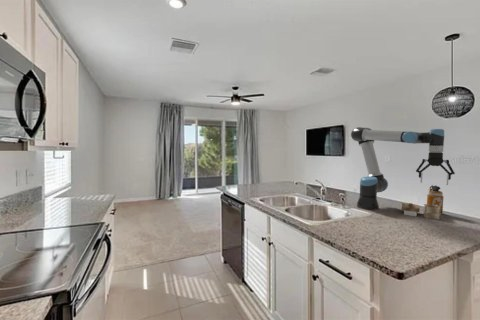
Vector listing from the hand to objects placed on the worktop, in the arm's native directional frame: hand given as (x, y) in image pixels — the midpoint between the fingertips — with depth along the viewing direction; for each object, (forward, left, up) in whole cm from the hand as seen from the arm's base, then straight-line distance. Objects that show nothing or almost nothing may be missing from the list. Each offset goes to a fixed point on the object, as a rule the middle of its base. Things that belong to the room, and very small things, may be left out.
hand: (433, 183), depth 161 cm
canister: (+2, +13, -23) cm, 26 cm away
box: (0, 0, -23) cm, 23 cm away
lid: (-12, 0, -20) cm, 23 cm away
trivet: (-12, 0, -23) cm, 26 cm away
